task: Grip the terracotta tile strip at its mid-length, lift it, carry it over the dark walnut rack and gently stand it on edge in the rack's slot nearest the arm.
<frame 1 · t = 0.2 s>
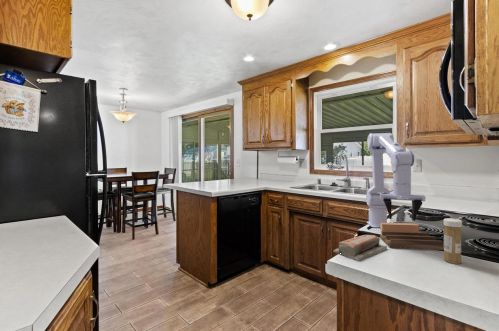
hand: (401, 219, 96), 10 cm above the countertop, tool pointing down, fingers open, 7 cm apart
sprinkles bottle: (452, 261, 81), on the countertop
packaged product: (360, 252, 92), on the countertop
tile strip: (399, 235, 108), on the countertop
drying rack: (410, 243, 97), on the countertop
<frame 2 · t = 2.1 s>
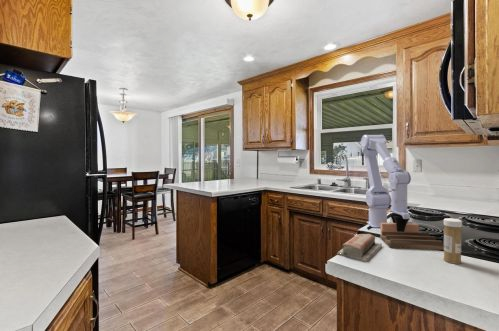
hand: (399, 231, 108), 1 cm above the countertop, tool pointing down, fingers closed on tile strip, 2 cm apart
tile strip: (399, 235, 108), on the countertop, touching gripper
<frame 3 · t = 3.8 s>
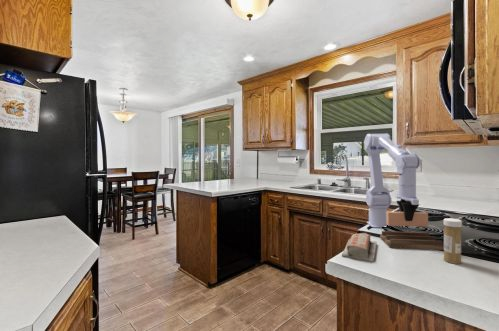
hand: (407, 219, 100), 8 cm above the countertop, tool pointing down, fingers closed on tile strip, 2 cm apart
tile strip: (406, 225, 100), point 6 cm above the countertop, touching gripper
when the fingers open (4 cm above the countertop, at t = 5.6 s): tile strip stays where it is, resting on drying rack.
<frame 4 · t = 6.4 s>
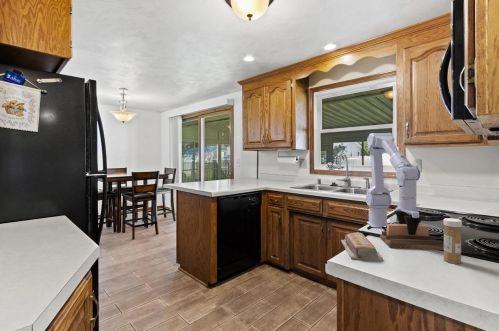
hand: (407, 231, 100), 4 cm above the countertop, tool pointing down, fingers open, 7 cm apart
tile strip: (406, 237, 100), point 1 cm above the countertop, touching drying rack
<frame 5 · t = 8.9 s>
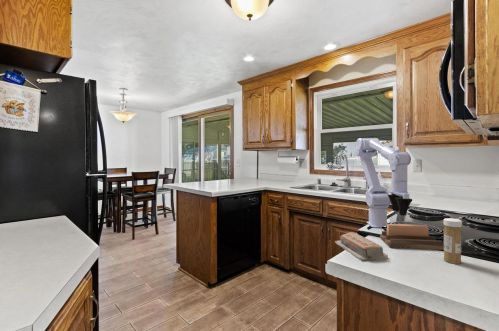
hand: (399, 213, 107), 9 cm above the countertop, tool pointing down, fingers open, 7 cm apart
at the end: tile strip 0.2 cm from the target spot on the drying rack, point 1.5 cm above the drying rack's base; tile strip tilted 0°; the gripper is holding nothing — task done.
